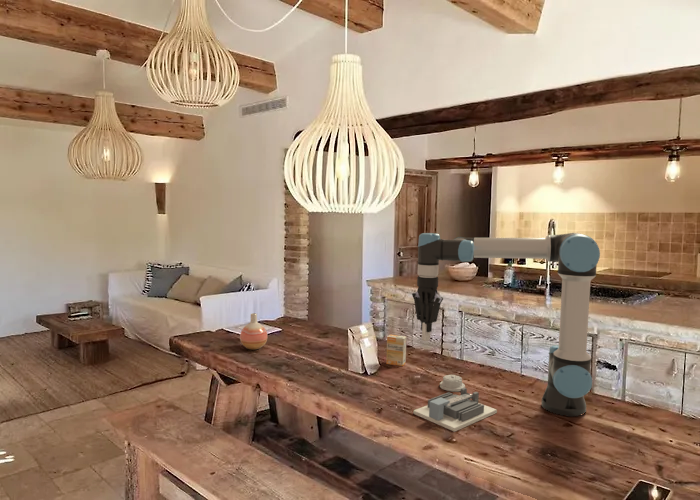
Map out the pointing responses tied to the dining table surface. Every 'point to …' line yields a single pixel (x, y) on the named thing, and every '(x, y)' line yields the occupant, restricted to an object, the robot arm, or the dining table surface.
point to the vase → (253, 334)
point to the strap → (458, 399)
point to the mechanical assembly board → (458, 412)
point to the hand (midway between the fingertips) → (425, 340)
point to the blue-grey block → (437, 408)
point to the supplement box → (396, 350)
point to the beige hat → (452, 383)
